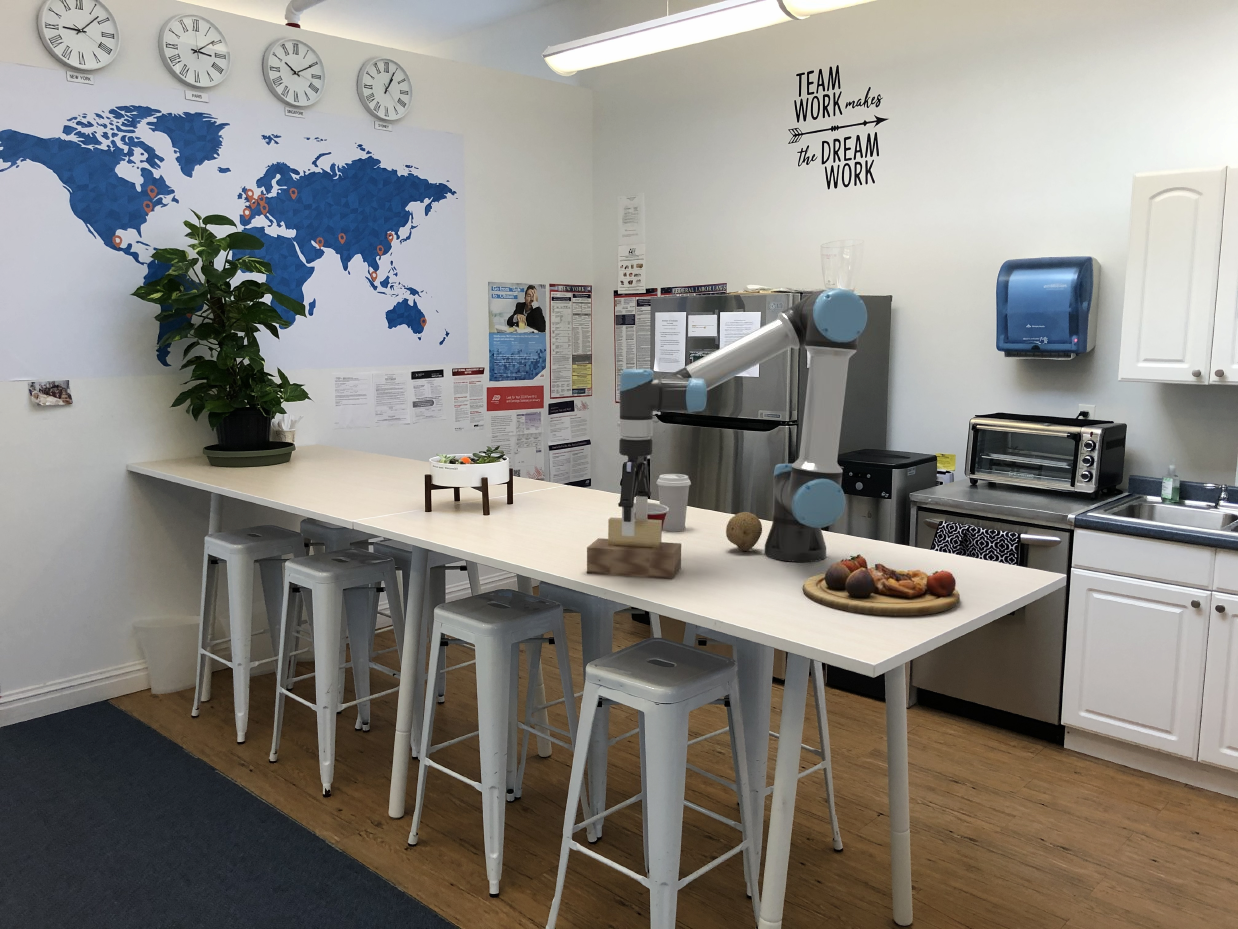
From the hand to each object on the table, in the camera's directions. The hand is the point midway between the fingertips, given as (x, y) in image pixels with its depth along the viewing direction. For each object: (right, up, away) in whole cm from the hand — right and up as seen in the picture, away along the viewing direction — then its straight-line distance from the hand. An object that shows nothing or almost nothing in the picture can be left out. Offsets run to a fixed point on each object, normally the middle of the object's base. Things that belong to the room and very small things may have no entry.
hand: (634, 529), depth 220 cm
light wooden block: (0, -9, +1) cm, 9 cm away
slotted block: (0, -10, +1) cm, 10 cm away
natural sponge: (+28, -7, +22) cm, 36 cm away
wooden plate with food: (+52, -13, -17) cm, 56 cm away
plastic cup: (+3, -7, +19) cm, 21 cm away
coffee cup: (+11, -3, +48) cm, 49 cm away
